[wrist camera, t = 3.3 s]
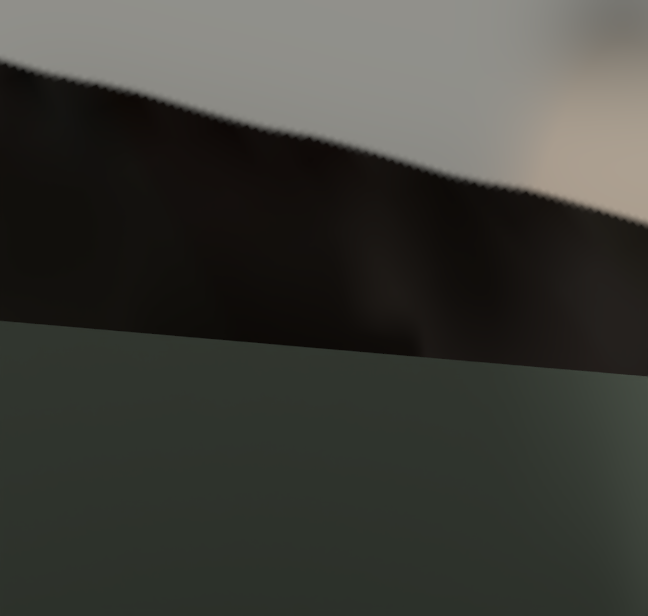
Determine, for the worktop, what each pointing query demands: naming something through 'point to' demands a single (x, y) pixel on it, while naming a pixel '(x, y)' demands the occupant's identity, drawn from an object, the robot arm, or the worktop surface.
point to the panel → (312, 481)
